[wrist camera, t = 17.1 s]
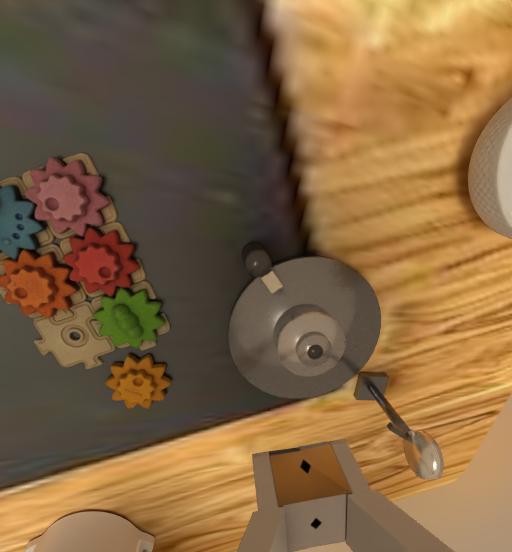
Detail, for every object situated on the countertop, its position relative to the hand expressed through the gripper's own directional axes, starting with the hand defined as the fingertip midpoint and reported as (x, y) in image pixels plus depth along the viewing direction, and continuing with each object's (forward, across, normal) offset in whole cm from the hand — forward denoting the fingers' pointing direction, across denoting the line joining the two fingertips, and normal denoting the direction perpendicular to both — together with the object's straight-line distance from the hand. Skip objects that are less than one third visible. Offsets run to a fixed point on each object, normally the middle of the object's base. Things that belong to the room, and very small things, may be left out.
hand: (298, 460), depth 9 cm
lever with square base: (+26, -17, +20) cm, 37 cm away
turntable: (+26, -6, +9) cm, 28 cm away
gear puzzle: (+27, +18, +3) cm, 33 cm away
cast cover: (+24, -7, +10) cm, 27 cm away
